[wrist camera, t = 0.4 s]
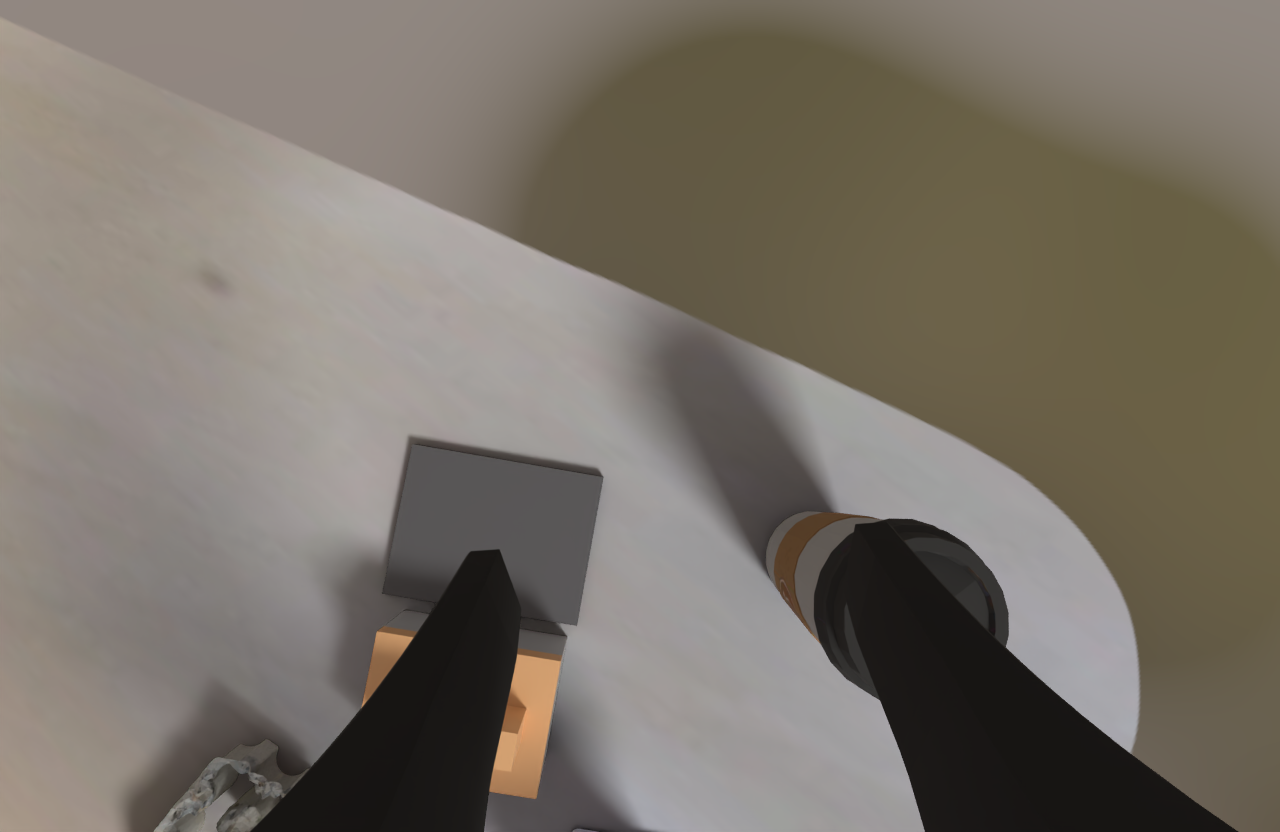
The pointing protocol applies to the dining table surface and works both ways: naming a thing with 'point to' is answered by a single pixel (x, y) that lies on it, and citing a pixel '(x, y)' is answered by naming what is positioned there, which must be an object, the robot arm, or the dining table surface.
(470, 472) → the mat
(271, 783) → the grey rock
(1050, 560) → the dining table surface
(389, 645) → the lid
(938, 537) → the coffee cup
